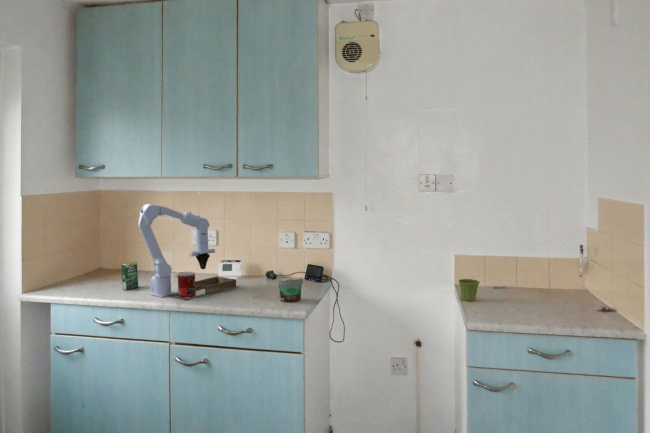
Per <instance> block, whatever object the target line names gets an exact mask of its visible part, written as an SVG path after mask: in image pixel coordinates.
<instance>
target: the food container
mask: <svg viewBox="0 0 650 433" xmlns="http://www.w3.org/2000/svg"><path fill="white" fill-rule="evenodd" d="M303 284H304V279H303V277H300V278H299V279H290V278H289V279H287V280H280V279H277V285H278V288H279V289H278V290H279V299H280V302H283V303H297V302H300V301H301V297H302V286H303Z"/></svg>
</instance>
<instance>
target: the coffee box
mask: <svg viewBox="0 0 650 433" xmlns="http://www.w3.org/2000/svg"><path fill="white" fill-rule="evenodd" d="M138 275H139V274H138V262H136V261H132V262H128V263H124V264H123V263H122V264H121V279H122V281H121V284H122V290H123V291H129V290H132V289H135V288H139V276H138Z"/></svg>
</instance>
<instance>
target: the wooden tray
mask: <svg viewBox="0 0 650 433" xmlns="http://www.w3.org/2000/svg"><path fill="white" fill-rule="evenodd" d="M235 288H237V279H233V278H231V277H230V278H229V277H224V276H223V277H222V276H219V275H218V276H217V275H216V276H212V277H208V278H203V279H199V280H195V291H196V290H200V289H204V294H206V296H210V295H212V294H216V293H220V292H221V293H222V292H224V291H227V290H231V289H235Z"/></svg>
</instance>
